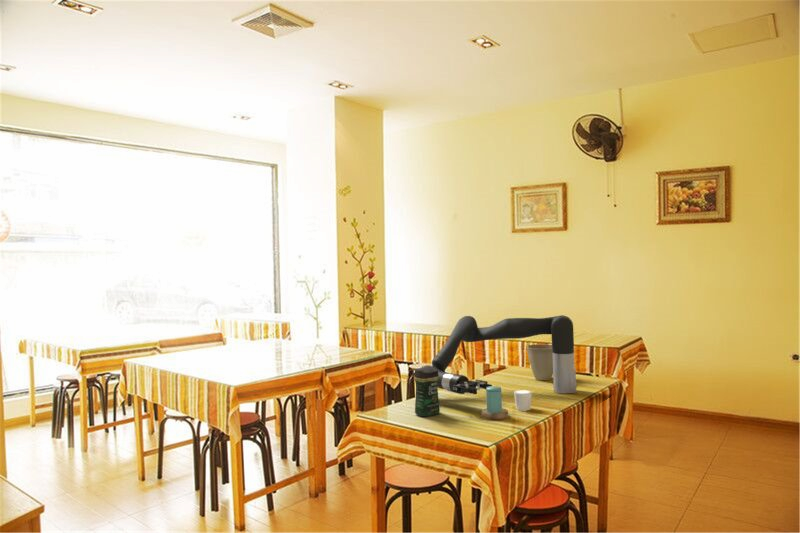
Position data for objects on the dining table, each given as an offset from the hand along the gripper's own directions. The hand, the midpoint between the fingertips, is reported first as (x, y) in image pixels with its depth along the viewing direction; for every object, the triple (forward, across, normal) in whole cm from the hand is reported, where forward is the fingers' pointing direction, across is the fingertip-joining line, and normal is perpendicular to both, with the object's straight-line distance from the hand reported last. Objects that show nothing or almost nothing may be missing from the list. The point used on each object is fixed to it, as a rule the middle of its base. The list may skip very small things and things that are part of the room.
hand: (484, 389), depth 223 cm
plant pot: (-21, +63, +10) cm, 67 cm away
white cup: (+6, +15, +10) cm, 19 cm away
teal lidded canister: (+5, 0, +8) cm, 9 cm away
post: (+5, 0, +10) cm, 11 cm away
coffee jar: (-16, -15, +10) cm, 24 cm away
